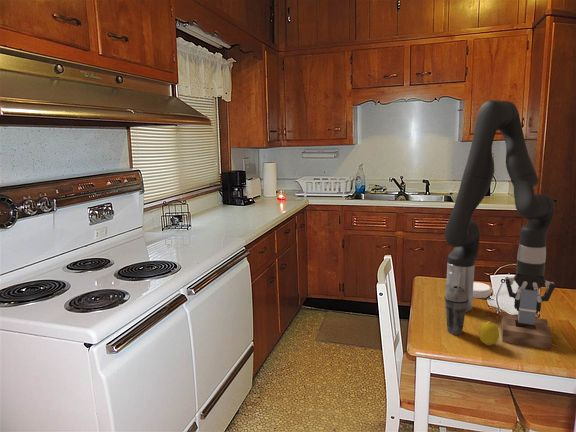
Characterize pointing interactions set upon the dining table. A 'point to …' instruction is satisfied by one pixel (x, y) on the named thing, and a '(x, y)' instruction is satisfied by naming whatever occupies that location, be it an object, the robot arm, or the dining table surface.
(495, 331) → the lemon
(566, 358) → the dining table surface
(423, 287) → the dining table surface
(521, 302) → the peg
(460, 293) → the beverage cup
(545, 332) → the board
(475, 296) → the white shallow cylinder
